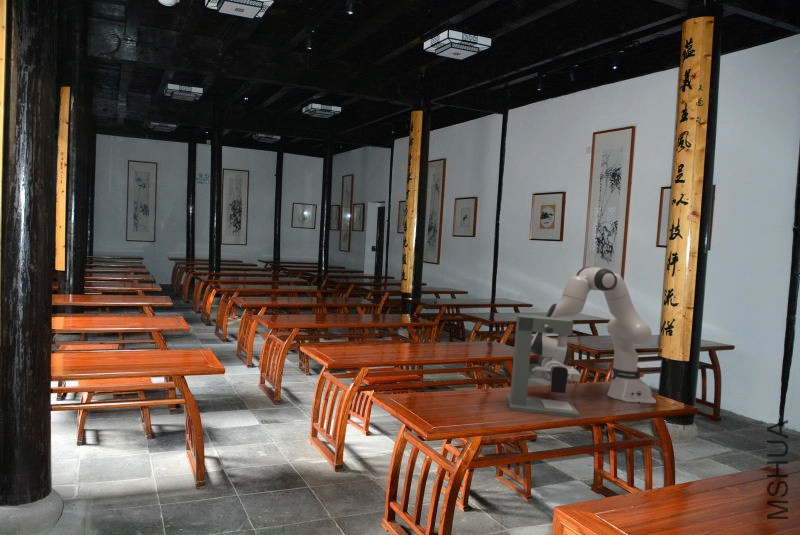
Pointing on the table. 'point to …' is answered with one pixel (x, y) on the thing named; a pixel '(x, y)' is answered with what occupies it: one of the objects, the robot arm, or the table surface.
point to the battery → (558, 379)
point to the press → (522, 360)
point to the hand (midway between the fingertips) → (559, 377)
